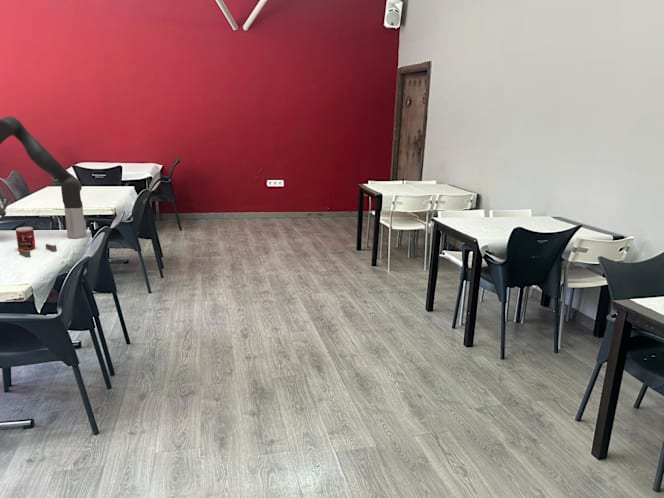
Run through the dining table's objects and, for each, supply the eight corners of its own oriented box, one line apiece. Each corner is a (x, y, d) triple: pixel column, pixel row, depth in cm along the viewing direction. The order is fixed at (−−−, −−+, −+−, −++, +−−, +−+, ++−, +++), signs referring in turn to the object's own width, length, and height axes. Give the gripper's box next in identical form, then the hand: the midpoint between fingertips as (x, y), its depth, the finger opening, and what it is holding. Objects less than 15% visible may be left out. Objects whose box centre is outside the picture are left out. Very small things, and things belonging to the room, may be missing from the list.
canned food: (16, 251, 255) (13, 230, 252) (21, 247, 262) (18, 226, 259) (33, 250, 257) (30, 230, 254) (37, 246, 264) (34, 226, 261)
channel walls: (48, 248, 262) (47, 243, 261) (54, 250, 259) (54, 246, 258) (19, 254, 250) (18, 249, 250) (25, 256, 247) (25, 251, 247)
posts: (55, 250, 259) (54, 244, 258) (56, 251, 258) (56, 245, 258) (25, 256, 247) (24, 251, 246) (26, 257, 246) (26, 251, 245)
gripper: (-23, 186, 261) (-8, 213, 258) (4, 184, 272) (18, 209, 269) (-27, 195, 265) (-12, 221, 262) (0, 192, 276) (15, 217, 273)
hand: (3, 215), depth 266 cm, fingers closed
